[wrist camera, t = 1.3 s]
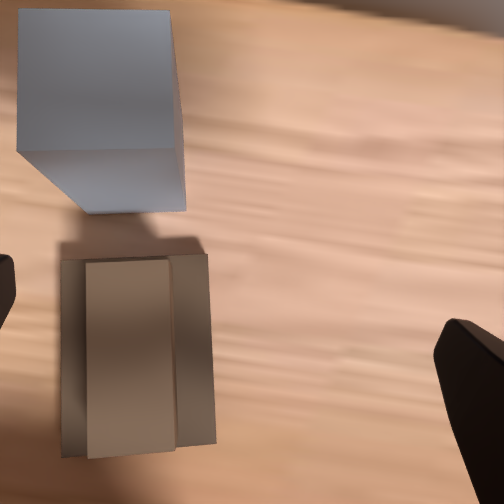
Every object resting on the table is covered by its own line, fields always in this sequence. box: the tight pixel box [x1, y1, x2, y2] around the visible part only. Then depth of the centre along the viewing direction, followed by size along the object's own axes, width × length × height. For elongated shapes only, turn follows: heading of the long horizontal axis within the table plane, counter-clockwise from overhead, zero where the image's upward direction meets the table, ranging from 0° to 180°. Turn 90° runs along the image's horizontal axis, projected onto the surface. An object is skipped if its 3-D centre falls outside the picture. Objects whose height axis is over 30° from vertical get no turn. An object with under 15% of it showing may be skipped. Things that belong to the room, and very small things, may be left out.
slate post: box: [17, 8, 186, 215], centre depth 19 cm, size 5×5×9 cm
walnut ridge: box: [61, 254, 217, 459], centre depth 21 cm, size 9×7×4 cm
